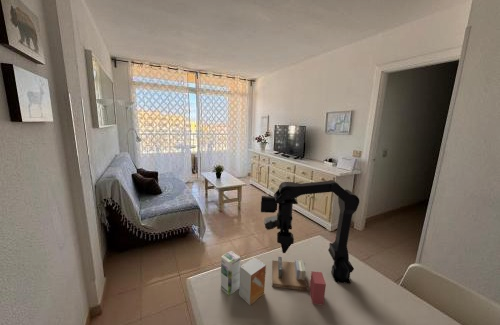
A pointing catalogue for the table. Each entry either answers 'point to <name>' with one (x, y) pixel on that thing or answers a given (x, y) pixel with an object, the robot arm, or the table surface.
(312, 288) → the red flat-faced block
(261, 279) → the small box
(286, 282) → the shelf
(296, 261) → the shelved books
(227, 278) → the syrup box
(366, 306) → the table surface
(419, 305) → the table surface
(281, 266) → the bookend
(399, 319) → the table surface
